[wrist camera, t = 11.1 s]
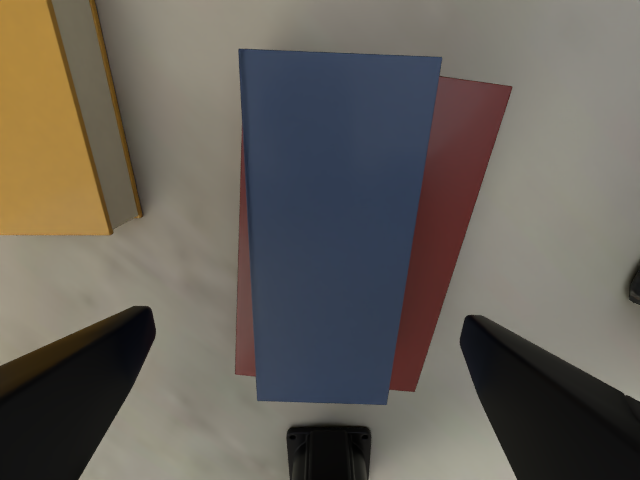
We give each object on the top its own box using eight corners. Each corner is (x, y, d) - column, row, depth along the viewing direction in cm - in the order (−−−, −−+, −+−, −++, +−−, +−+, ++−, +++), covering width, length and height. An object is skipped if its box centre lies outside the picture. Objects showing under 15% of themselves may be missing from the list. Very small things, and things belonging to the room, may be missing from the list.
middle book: (376, 360, 18) (386, 405, 15) (267, 357, 18) (256, 401, 15) (415, 69, 13) (442, 56, 10) (256, 63, 12) (238, 48, 10)
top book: (143, 216, 18) (110, 235, 15) (21, 216, 18) (-34, 235, 15) (76, -81, 13) (9, -135, 10) (-91, -81, 13) (-203, -134, 10)
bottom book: (403, 359, 22) (414, 392, 19) (245, 342, 21) (234, 374, 19) (480, 91, 15) (513, 86, 13) (257, 59, 15) (243, 48, 12)
